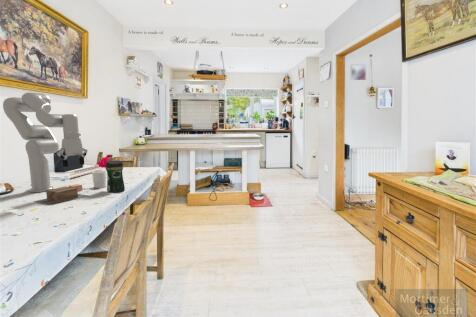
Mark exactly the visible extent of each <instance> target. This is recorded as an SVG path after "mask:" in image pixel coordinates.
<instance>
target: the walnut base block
mask: <svg viewBox="0 0 476 317" xmlns="http://www.w3.org/2000/svg"><path fill="white" fill-rule="evenodd" d="M45 193H46V199H47V200H51V201H56V202H61V201H65V200H69V199H73V198H78V194H79V191H78V192H77V188H72V187H68V186H62V187H57V188H54V189H50V190H46V191H45Z"/></svg>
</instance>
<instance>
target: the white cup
mask: <svg viewBox="0 0 476 317" xmlns="http://www.w3.org/2000/svg"><path fill="white" fill-rule="evenodd" d="M91 175H92V181H93V182H92V183H93V187H94V188H95V189H101V188H105V187H107V180H106V179H107V171H106V170H97V171H96V170H95V171H92V172H91Z"/></svg>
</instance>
